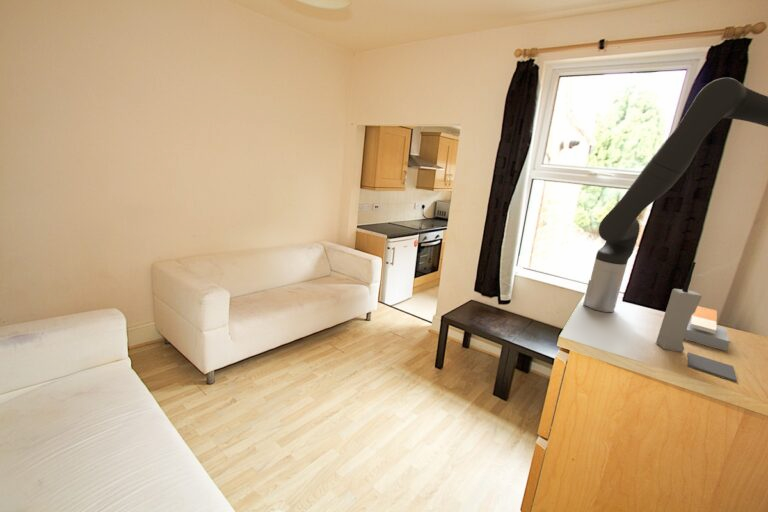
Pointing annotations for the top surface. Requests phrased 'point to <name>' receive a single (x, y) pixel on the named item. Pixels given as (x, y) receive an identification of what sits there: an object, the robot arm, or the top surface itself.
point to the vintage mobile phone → (678, 316)
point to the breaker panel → (708, 337)
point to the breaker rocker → (704, 319)
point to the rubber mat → (711, 366)
